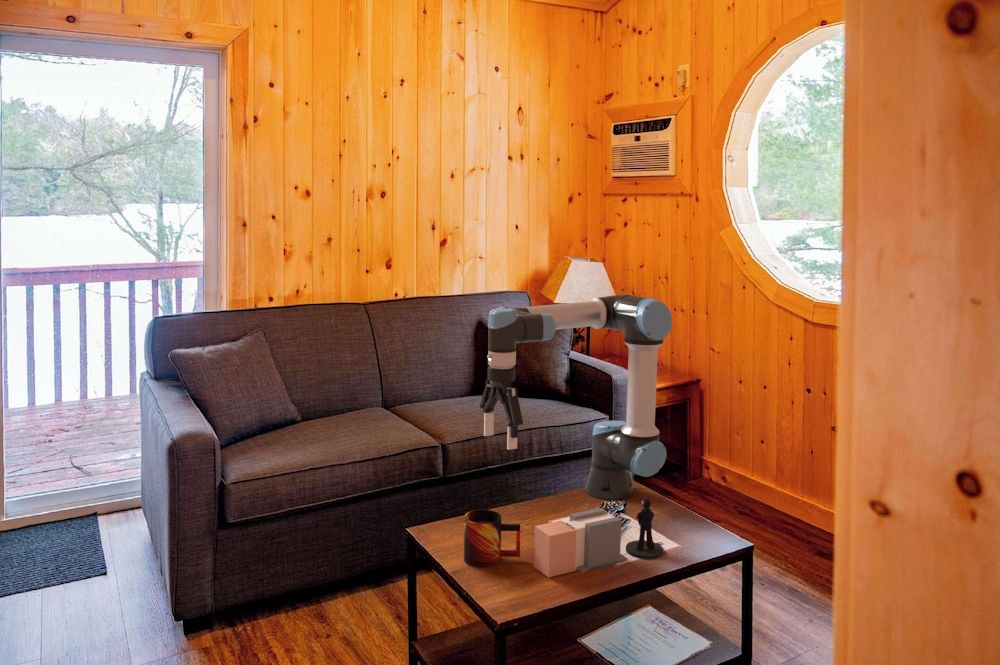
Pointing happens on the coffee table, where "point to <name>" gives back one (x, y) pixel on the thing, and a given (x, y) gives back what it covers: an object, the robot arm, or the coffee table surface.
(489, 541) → the mug
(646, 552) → the figurine
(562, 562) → the stub
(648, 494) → the coffee table surface
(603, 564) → the two-tone box
